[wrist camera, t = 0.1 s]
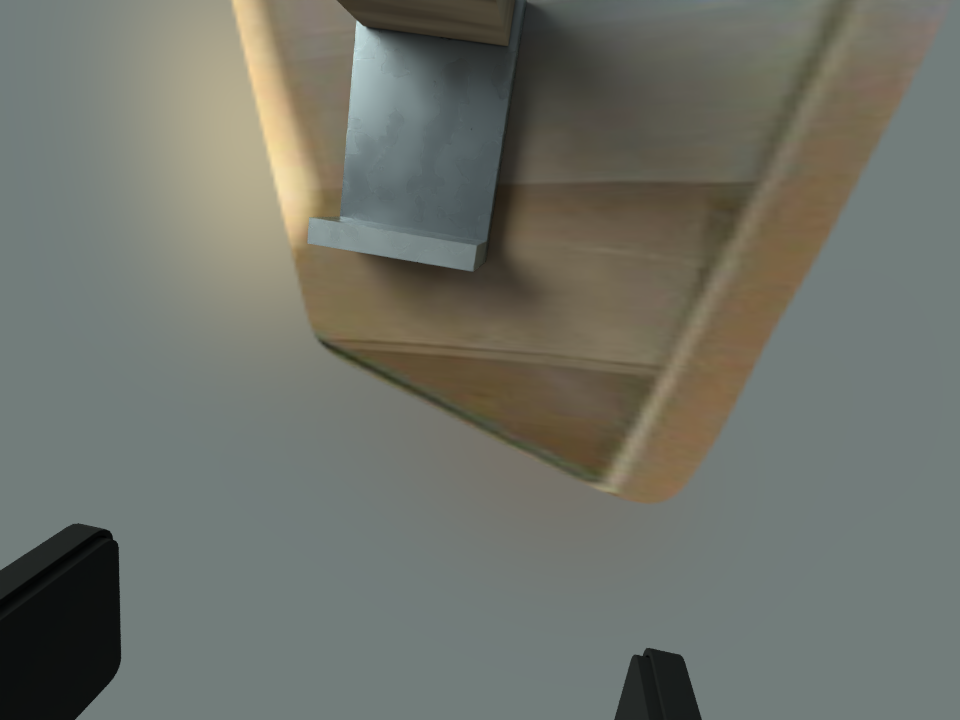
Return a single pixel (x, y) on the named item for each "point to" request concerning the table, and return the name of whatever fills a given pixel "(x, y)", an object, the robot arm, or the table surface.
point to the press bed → (423, 146)
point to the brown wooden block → (438, 17)
